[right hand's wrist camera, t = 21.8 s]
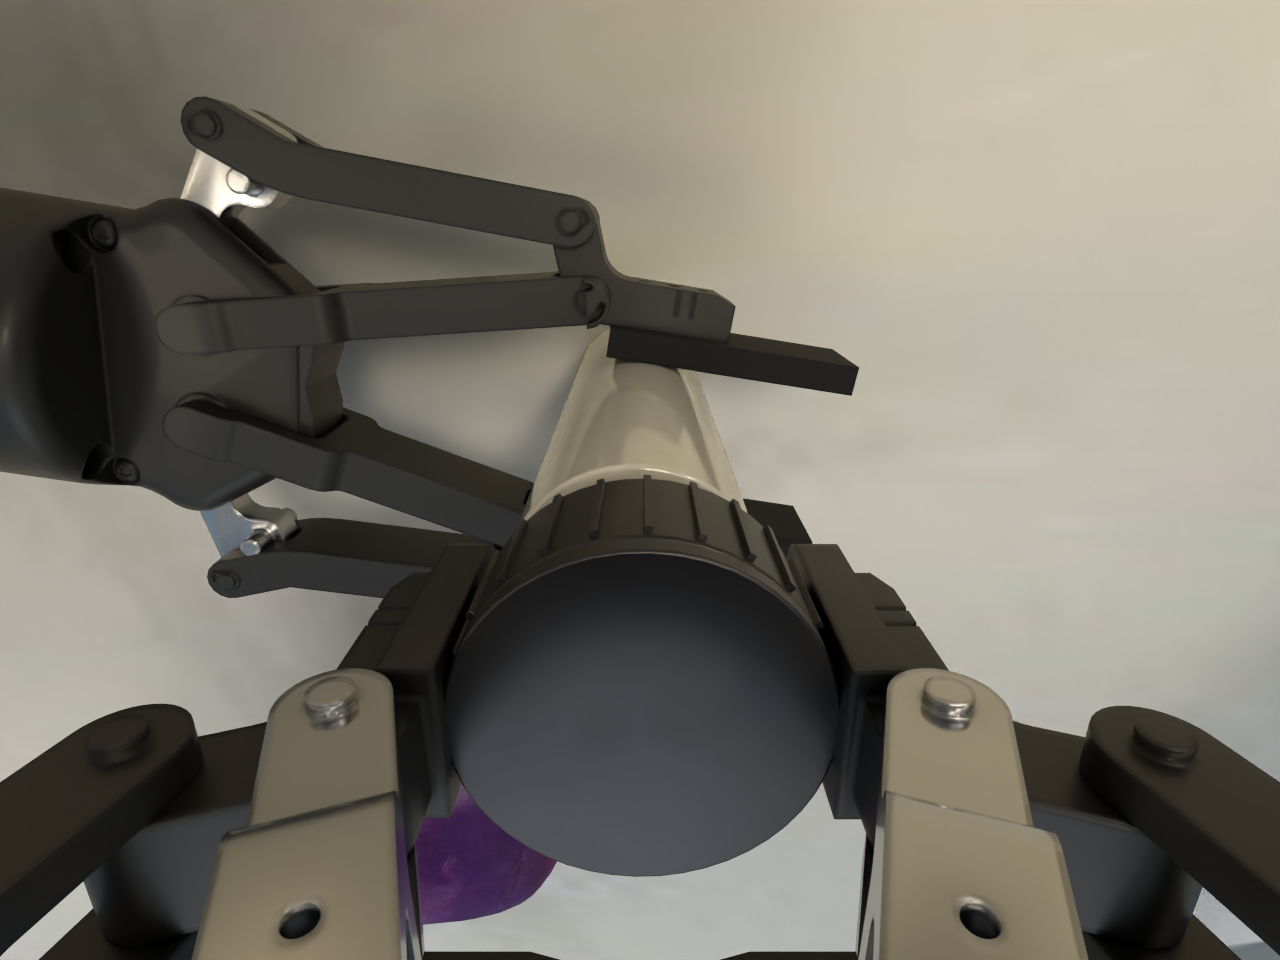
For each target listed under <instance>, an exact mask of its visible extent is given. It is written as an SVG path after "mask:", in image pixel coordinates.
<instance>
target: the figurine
mask: <svg viewBox="0 0 1280 960" xmlns="http://www.w3.org/2000/svg"><path fill="white" fill-rule="evenodd" d="M415 845H416V852H417V859H418V871H419V884H420V897H421V910H422V923H423V925H424V924H433V923H444V922H455V921H463V920H469V919H475V918H479V917H484V916H488V915H492V914H496V913H500V912H502V911H505V910H507V909H510V908H512V907H514V906H517V905H519V904H521V903H522V902H524V901H525V900H527V899H528V898H529V897H531V896H532V895H533V894H534V893H535V892H536V891H537V890H538V889H539V888H540V887H541V885H542V884H543V883H544V881H545V880H546V879H547V877H548V876H549V874H550V873H551V871H552V869H553V868H554V866H555V864H556V862H557V861H556V860H554V859H551V858H548V857H546V856H544V855H542V854H540V853H538V852H536V851H534V850H532V849H530V848H528V847H526V846H525V845H523V844H522V843H520V842H519V841H517V840H516V839H514V838H513V837H511V836H510V835H508V834H507V833H505V832H504V831H503V830H502V829H501V828H500V827H498V826H497V825H496V824H495V823H494V822H493V821H491V820H490V819H489V818H488V817H487V816H486V815H485V813H484V812H483V811H482V810H481V809H480V808H479V807H478V806H477V805H476V803H475V802H474V801H473V799H472V798H471V797H470V795H469V794H468V792H467V791H466V789H465V788H464V786H463V785H462V783H461V786H460V790H459V793H458V796H457V799H456V802H455V805H454V809H453V812H452V815H451V818H424V819H423V822H422V825H421V828H420V830H419V833H418V836H417V839H416V841H415Z"/></svg>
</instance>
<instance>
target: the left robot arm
mask: <svg viewBox="0 0 1280 960" xmlns="http://www.w3.org/2000/svg"><path fill="white" fill-rule="evenodd" d="M181 124H182V128H183V132H184V134H185V135H186V137H187V139H188V140H189V142H190V143H191V144H193V145H194V146H195V147H196V148H197V150H196V153H195V156H194V159H193V162H192V165H191V168H190V171H189V174H188V177H187V180H186V183H185V186H184V189H183V192H182V195H181V198H180V199H178V198H169V199H163V200H159V201H156V202H154V203H151V204H149V205H147V206H145V207H142V208H138V209H129V208H122V207H116V206H110V205H104V204H98V203H92V202H86V201H79V200H73V199H67V198H61V197H55V196H49V195H43V194H37V193H30V192H24V191H18V190H12V189H6V188H0V472H7V473H14V474H21V475H29V476H36V477H43V478H50V479H57V480H64V481H71V482H78V483H87V484H104V485H132V486H140V487H144V488H147V489H149V490H152V491H154V492H156V493H158V494H160V495H162V496H164V497H165V498H167V499H169V500H170V501H172V502H173V503H175V504H177V505H179V506H181V507H184V508H187V509H191V510H197V511H200V512H201V514H202V517H203V519H204V521H205V523H206V525H207V527H208V529H209V532H210V534H211V536H212V538H213V540H214V542H215V544H216V547H217V549H218V551H219V553H220V555H221V559H219V560H218V561H217V562H216V563H215V564H213V565H212V567H211V568H210V569H209V570H208V575H207V578H208V582H209V584H210V586H211V587H212V589H213V590H214V591H215V592H217V593H218V594H220V595H221V596H225V597H228V598H238V597H243V596H248V595H253V594H258V593H263V592H268V591H273V590H278V589H283V588H288V587H294V588H302V589H311V590H319V591H328V592H336V593H344V594H353V595H361V596H370V597H378V598H384V597H385V596H386V594H387V593H388V591H389V590H390V588H392V587H393V586H395V585H396V584H398V583H399V582H401V581H402V580H403V579H405V578H406V577H408V576H409V575H411V574H412V573H414V572H430V571H431V570H432V568H433V566H434V564H435V563H436V561H437V559H438V558H439V556H440V554H441V553H442V551H443V549H444V547H445V546H446V545H447V544H493V545H494V548H495V549H496V550H498V551H501V550H502V548H503V547H504V545H505V544H506V543H507V541H508V540H509V538H510V537H511V536H512V535H513V534H514V531H515V529H516V526H517V524H518V521H519V520H520V518H521V515H522V513H523V510H524V507H525V505H526V502H527V500H528V497H529V495H530V492H531V490H532V487H533V484H534V483H532V482H529V481H527V480H524V479H521V478H518V477H516V476H513V475H510V474H507V473H505V472H502V471H499V470H496V469H494V468H491V467H488V466H485V465H483V464H480V463H477V462H474V461H471V460H469V459H466V458H463V457H460V456H458V455H455V454H452V453H449V452H447V451H444V450H441V449H438V448H436V447H433V446H430V445H427V444H425V443H422V442H419V441H416V440H413V439H411V438H408V437H405V436H402V435H400V434H397V433H394V432H391V431H389V430H386V429H383V428H381V427H380V426H378V424H377V422H376V421H375V420H373V419H372V418H370V417H368V416H365V415H362V414H360V413H357V412H354V411H351V410H349V409H346V408H343V399H342V395H341V392H340V388H339V384H338V380H337V376H336V371H337V367H338V364H339V360H340V357H341V354H342V350H343V342H344V341H350V340H361V339H377V338H392V337H408V336H423V335H439V334H455V333H470V332H486V331H501V330H517V329H532V328H548V327H564V326H579V325H587V329H590V328H594V327H597V326H598V325H599V324H602V325H609V326H611V327H610V334H609V341H608V348H607V355H606V357H609V358H615V359H621V360H628V361H634V362H640V363H647V364H653V365H660V366H666V367H672V368H679V369H685V370H691V371H698V372H704V373H711V374H717V375H723V376H730V377H736V378H742V379H749V380H755V381H761V382H768V383H774V384H781V385H787V386H793V387H800V388H806V389H812V390H819V391H825V392H832V393H838V394H844V395H851V396H852V392H853V388H854V385H855V381H856V377H857V373H858V370H859V367H857V366H856V365H855V364H853V363H852V362H850V361H849V360H847V359H846V358H844V357H843V356H841V355H840V354H838V353H837V352H836V351H834V350H833V349H827V348H821V347H815V346H809V345H802V344H796V343H790V342H784V341H777V340H771V339H765V338H759V337H752V336H746V335H740V334H734V333H730V331H731V326H732V321H733V316H734V311H735V306H734V305H733V304H732V303H731V302H730V301H729V300H727V299H726V298H724V297H723V296H721V295H719V294H718V293H716V292H715V291H713V290H708V289H702V288H696V287H690V286H684V285H677V284H671V283H665V282H659V281H653V280H647V279H641V278H635V277H629V276H626V275H623V274H621V273H620V272H618V271H617V270H616V269H615V268H614V267H613V266H612V265H611V264H610V262H609V260H608V258H607V255H606V251H605V246H604V241H603V237H602V232H601V227H600V219H599V214H598V212H597V210H596V208H595V207H594V206H593V205H592V204H591V203H590V202H589V201H587V200H585V199H582V198H579V197H576V196H572V195H567V194H561V193H556V192H551V191H546V190H541V189H535V188H530V187H525V186H520V185H514V184H509V183H504V182H499V181H494V180H488V179H483V178H478V177H473V176H468V175H462V174H457V173H452V172H447V171H441V170H436V169H431V168H426V167H421V166H415V165H410V164H405V163H400V162H394V161H389V160H384V159H379V158H374V157H368V156H363V155H358V154H353V153H347V152H342V151H337V150H332V149H327V148H323V147H322V146H320V145H318V144H316V143H315V142H313V141H311V140H310V139H308V138H306V137H304V136H303V135H301V134H299V133H298V132H296V131H294V130H293V129H291V128H289V127H287V126H286V125H284V124H282V123H281V122H279V121H277V120H275V119H274V118H272V117H270V116H269V115H267V114H264V113H262V112H259V111H255V110H252V109H248V108H245V107H242V106H238V105H234V104H231V103H227V102H223V101H219V100H216V99H212V98H209V97H195V98H193V99H191V100H190V101H188V102H187V103H186V105H185V106H184V108H183V110H182V115H181ZM293 196H297V197H301V198H305V199H310V200H315V201H321V202H326V203H331V204H337V205H342V206H347V207H353V208H358V209H363V210H369V211H374V212H380V213H385V214H390V215H396V216H401V217H406V218H412V219H417V220H422V221H428V222H433V223H438V224H444V225H449V226H454V227H460V228H465V229H470V230H476V231H481V232H487V233H492V234H497V235H503V236H508V237H513V238H519V239H524V240H529V241H535V242H540V243H545V244H551V245H553V248H554V252H555V257H556V261H557V265H558V270H559V272H546V273H530V274H515V275H500V276H485V277H470V278H454V279H439V280H424V281H409V282H393V283H378V284H373V283H361V284H346V285H331V286H314V285H313V284H312V283H310V282H309V281H308V280H307V279H306V278H305V277H304V276H303V275H301V274H300V273H299V272H298V271H297V270H296V269H295V268H294V267H292V266H291V265H290V264H289V263H288V262H287V261H286V260H285V259H283V258H282V257H281V256H280V255H279V254H278V253H277V252H276V251H274V250H273V249H272V248H271V247H270V246H269V245H268V244H267V243H265V242H264V241H263V240H262V239H261V238H260V237H259V236H258V235H256V234H255V233H254V232H253V231H252V230H251V229H250V228H249V227H247V226H246V225H245V224H244V223H243V222H242V221H241V220H240V219H238V216H239V214H240V212H241V211H242V210H243V209H244V208H246V207H248V206H249V207H253V208H281V207H283V206H285V205H286V204H288V203H289V202H290V200H291V198H292V197H293ZM275 478H279V479H282V480H285V481H288V482H291V483H294V484H296V485H299V486H302V487H305V488H308V489H311V490H315V491H322V492H327V491H335V490H336V491H343V492H346V493H349V494H352V495H355V496H358V497H360V498H363V499H366V500H369V501H372V502H375V503H378V504H381V505H383V506H386V507H389V508H392V509H395V510H398V511H401V512H404V513H406V514H409V515H412V516H415V517H418V518H421V519H424V520H427V521H430V522H432V523H435V524H438V525H441V526H444V527H447V528H450V529H453V530H455V531H458V532H461V533H464V534H457V533H449V532H441V531H433V530H425V529H417V528H409V527H401V526H393V525H384V524H376V523H368V522H360V521H352V520H344V519H333V518H310V519H303V520H297V514H296V513H295V511H293V510H292V509H290V508H283V509H280V508H271V507H264V506H261V505H259V504H257V503H255V502H254V501H253V500H252V499H251V498H250V497H249V495H248V492H250V491H252V490H254V489H256V488H258V487H260V486H262V485H264V484H266V483H268V482H269V481H271V480H273V479H275ZM743 501H744V504H745V506H746V509H747V512H748V514H749V515H751V516H752V517H753V518H754V519H755V520H756V521H757V522H758V523H759V524H761V525H762V526H763V527H765V526H767V525H769V526H770V528H771V529H772V530H773V533H774V535H775V537H776V540H777V542H778V545H779V547H780V548H781V550H782V552H783V553H784V555H785V556H786V558H787V556H788V551H789V547H790V545H791V544H812V541H811V539H810V537H809V535H808V533H807V531H806V530H805V528H804V526H803V524H802V522H801V520H800V518H799V516H798V515H797V513H796V511H795V509H794V507H793V506H790V505H783V504H776V503H770V502H763V501H756V500H749V499H743ZM465 534H467V535H465Z"/></svg>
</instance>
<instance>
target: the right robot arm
mask: <svg viewBox="0 0 1280 960" xmlns="http://www.w3.org/2000/svg"><path fill="white" fill-rule="evenodd" d="M494 551H495V548H494V545H493V544H447V545H446V546H445V547H444V549H443V551H442V553H441V554H440V556H439V558H438V559H437V561H436V563H435V564H434V566H433V568H432V570H431V571H430V572H414V573H412V574H411V575H409V576H408V577H406V578H405V579H403V580H402V581H401V582H399V583H398V584H396V585H395V586H393V587H392V588H390V590H389V591H388V593H387V594H386V596H385V597H384V599H383V600H382V602H381V603H380V605H379V609H378V610H376V611H375V612H374V614H373V615H372V617H371V618H370V620H369V621H368V626H365V627H364V629H363V630H362V632H361V633H360V635H359V636H358V638H357V639H356V641H355V642H354V644H353V645H352V647H351V648H350V650H349V651H348V653H347V654H346V656H345V657H344V659H343V660H342V662H341V663H340V665H339V666H338V668H337V669H336V670H333V671H329V672H324V673H321V674H318V675H315V676H313V677H310V678H308V679H306V680H303V681H302V682H300V683H298V684H296V685H294V686H293V687H291V688H290V689H288V690H287V691H286V692H285V693H284V694H282V695H281V696H280V697H279V698H278V699H277V701H276V702H275V703H274V705H273V706H272V708H271V710H270V713H269V716H268V721H267V722H264V723H260V724H256V725H252V726H248V727H243V728H238V729H233V730H228V731H224V732H219V733H214V734H209V735H204V736H199V737H198V736H197V732H196V729H195V725H194V721H193V718H192V716H191V714H190V713H189V712H188V711H187V710H185V709H184V708H182V707H179V706H176V705H170V704H149V705H141V706H136V707H131V708H128V709H124V710H120V711H117V712H115V713H112V714H109V715H106V716H104V717H102V718H99V719H97V720H95V721H93V722H91V723H89V724H87V725H85V726H83V727H81V728H80V729H78V730H77V731H75V732H73V733H72V734H70V735H69V736H67V737H66V738H64V739H63V740H61V741H60V742H59V743H57V744H56V745H54V746H53V747H51V748H50V749H48V750H47V751H45V752H44V753H42V754H41V755H40V756H38V757H37V758H35V759H34V760H32V761H31V762H29V763H28V764H26V765H25V766H23V767H22V768H21V769H19V770H18V771H16V772H15V773H13V774H12V775H10V776H9V777H7V778H6V779H4V780H3V781H2V782H0V956H1V955H2V954H3V953H4V952H5V951H6V950H7V949H8V948H9V947H10V946H11V945H12V944H14V943H15V942H16V941H17V940H18V939H19V938H20V937H21V936H22V935H24V934H25V933H26V932H27V931H28V930H29V929H30V928H31V927H33V926H34V925H35V924H36V923H37V922H38V921H39V920H40V919H42V918H43V917H44V916H45V915H46V914H47V913H48V912H49V911H51V910H52V909H53V908H54V907H55V906H56V905H57V904H58V903H59V902H61V901H62V900H63V899H64V898H65V897H66V896H67V895H68V894H70V893H71V892H72V891H73V890H74V889H75V888H76V887H77V886H79V885H80V884H81V883H82V882H83V881H84V884H85V887H86V889H87V892H88V895H89V897H90V900H91V903H92V906H93V909H92V910H91V911H90V912H89V913H88V914H87V915H86V916H85V917H84V918H83V919H81V920H80V921H79V922H78V923H77V924H76V925H75V926H74V927H73V928H72V929H71V930H70V931H69V932H68V933H67V934H66V935H65V936H63V937H62V938H61V939H60V940H59V941H58V942H57V943H56V944H55V945H54V946H53V947H52V948H51V949H50V950H49V951H48V952H46V953H45V954H44V955H43V956H42V957H41V958H40V959H39V960H559V959H555V958H551V957H548V956H544V955H540V954H537V953H533V952H425V949H424V936H423V923H422V910H421V897H420V884H419V871H418V859H417V852H416V845H415V841H416V839H417V836H418V833H419V830H420V828H421V825H422V822H423V819H424V818H451V815H452V812H453V809H454V805H455V802H456V799H457V796H458V793H459V790H460V786H461V781H460V779H459V777H458V775H457V773H456V771H455V769H454V767H453V765H452V759H451V752H450V744H449V735H448V726H447V718H446V709H445V699H444V689H445V683H446V678H447V675H448V672H449V669H450V666H451V663H452V660H453V656H452V652H453V650H454V648H455V645H456V643H457V640H458V638H459V636H460V633H461V631H462V629H463V626H464V624H465V622H466V619H467V618H466V617H465V616H466V613H467V611H468V609H469V607H470V604H471V602H472V600H473V597H474V595H475V593H476V590H477V588H478V586H479V584H480V581H481V579H482V577H483V574H484V572H485V570H486V567H487V565H488V563H489V561H490V558H491V556H492V554H493V552H494ZM791 558H793V559H794V561H795V563H796V566H797V568H798V570H799V572H800V575H801V577H802V579H803V581H804V584H805V586H806V588H807V590H808V593H809V595H810V597H811V599H812V602H813V604H814V606H815V608H816V611H817V613H818V615H819V617H820V619H821V622H822V624H823V626H824V627H823V628H821V629H818V632H819V634H820V636H821V639H822V641H823V643H824V646H825V648H826V650H827V653H828V655H829V657H830V660H831V662H832V664H833V667H834V669H835V673H836V677H837V682H838V686H839V690H840V704H839V715H838V723H837V731H836V740H835V748H834V755H833V760H832V762H831V765H830V767H829V770H828V772H827V774H826V776H825V778H824V780H823V781H822V782H823V785H824V788H825V792H826V795H827V798H828V801H829V804H830V807H831V810H832V813H833V817H834V819H861V820H862V822H863V825H864V828H865V831H866V838H865V845H864V852H863V859H862V871H861V884H860V897H859V910H858V923H857V936H856V949H855V952H747V953H743V954H740V955H736V956H732V957H729V958H725V959H721V960H1241V959H1240V958H1239V957H1238V956H1237V955H1236V954H1235V953H1234V952H1233V951H1231V950H1230V949H1229V948H1228V947H1227V946H1226V945H1225V944H1224V943H1223V942H1222V941H1221V940H1220V939H1219V938H1218V937H1217V936H1216V935H1214V934H1213V933H1212V932H1211V931H1210V930H1209V929H1208V928H1207V927H1206V926H1205V925H1204V924H1203V923H1202V922H1201V921H1200V920H1199V919H1197V918H1196V917H1195V916H1194V915H1193V911H1194V908H1195V906H1196V903H1197V900H1198V898H1199V895H1200V892H1201V890H1202V887H1204V888H1205V889H1206V890H1207V891H1208V892H1209V893H1210V894H1212V895H1213V896H1214V897H1215V898H1216V899H1217V900H1218V901H1219V902H1221V903H1222V904H1223V905H1224V906H1225V907H1226V908H1227V909H1228V910H1230V911H1231V912H1232V913H1233V914H1234V915H1235V916H1236V917H1237V918H1238V919H1240V920H1241V921H1242V922H1243V923H1244V924H1245V925H1246V926H1247V927H1249V928H1250V929H1251V930H1252V931H1253V932H1254V933H1255V934H1256V935H1258V936H1259V937H1260V938H1261V939H1262V940H1263V941H1264V942H1265V943H1267V944H1268V945H1269V946H1270V947H1271V948H1272V949H1273V950H1274V951H1275V952H1276V953H1278V955H1279V956H1280V782H1278V781H1277V780H1276V779H1274V778H1273V777H1271V776H1270V775H1268V774H1267V773H1265V772H1264V771H1262V770H1261V769H1259V768H1258V767H1257V766H1255V765H1254V764H1252V763H1251V762H1249V761H1248V760H1246V759H1245V758H1243V757H1242V756H1240V755H1239V754H1238V753H1236V752H1235V751H1233V750H1232V749H1230V748H1229V747H1227V746H1226V745H1224V744H1223V743H1221V742H1220V741H1219V740H1217V739H1216V738H1214V737H1213V736H1211V735H1210V734H1208V733H1206V732H1205V731H1203V730H1202V729H1200V728H1198V727H1196V726H1194V725H1192V724H1190V723H1188V722H1186V721H1184V720H1181V719H1179V718H1177V717H1174V716H1171V715H1168V714H1165V713H1162V712H1159V711H1155V710H1151V709H1146V708H1141V707H1133V706H1113V707H1107V708H1104V709H1101V710H1099V711H1097V712H1096V713H1095V714H1094V715H1093V716H1092V717H1091V720H1090V722H1089V726H1088V730H1087V733H1086V737H1081V736H1076V735H1071V734H1066V733H1061V732H1057V731H1052V730H1047V729H1042V728H1037V727H1033V726H1029V725H1025V724H1021V723H1018V722H1015V721H1013V720H1012V715H1011V713H1010V710H1009V708H1008V706H1007V705H1006V703H1005V702H1004V701H1003V699H1002V698H1001V697H1000V696H999V695H998V694H996V693H995V692H994V691H993V690H992V689H990V688H989V687H987V686H986V685H984V684H982V683H980V682H978V681H977V680H974V679H972V678H970V677H967V676H965V675H962V674H959V673H956V672H951V671H949V670H948V669H947V667H946V666H945V664H944V663H943V661H942V660H941V658H940V657H939V655H938V654H937V652H936V651H935V649H934V648H933V646H932V645H931V643H930V642H929V640H928V639H927V637H926V636H925V635H924V633H923V632H922V630H921V629H920V627H919V626H916V621H915V620H914V618H913V617H912V615H911V614H910V612H909V611H906V606H905V605H904V604H903V602H902V601H901V599H900V598H899V596H898V595H897V593H896V592H895V590H894V589H893V588H892V587H890V586H889V585H887V584H886V583H884V582H883V581H881V580H880V579H878V578H877V577H875V576H874V575H872V574H871V573H854V571H853V570H852V568H851V566H850V565H849V563H848V561H847V560H846V558H845V556H844V555H843V553H842V551H841V550H840V548H839V546H838V545H837V544H791V545H790V547H789V551H788V556H787V560H789V559H791Z"/></svg>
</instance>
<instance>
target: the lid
mask: <svg viewBox="0 0 1280 960" xmlns="http://www.w3.org/2000/svg"><path fill="white" fill-rule="evenodd" d="M465 617H466V618H467V619H466V622H465V624H464V626H463V629H462V631H461V633H460V636H459V638H458V640H457V643H456V645H455V648H454V650H453V652H452V656H453V660H452V663H451V666H450V669H449V672H448V675H447V678H446V683H445V689H444V699H445V709H446V718H447V726H448V735H449V744H450V752H451V759H452V765H453V767H454V769H455V771H456V773H457V775H458V777H459V779H460V781H461V783H462V785H463V786H464V788H465V789H466V791H467V792H468V794H469V795H470V797H471V798H472V799H473V801H474V802H475V803H476V805H477V806H478V807H479V808H480V809H481V810H482V811H483V812H484V813H485V815H486V816H487V817H488V818H489V819H490V820H491V821H493V822H494V823H495V824H496V825H497V826H498V827H500V828H501V829H502V830H503V831H504V832H505V833H507V834H508V835H510V836H511V837H513V838H514V839H516V840H517V841H519V842H520V843H522V844H523V845H525V846H526V847H528V848H530V849H532V850H534V851H536V852H538V853H540V854H542V855H544V856H546V857H548V858H551V859H554V860H556V861H559V862H561V863H564V864H566V865H570V866H573V867H577V868H581V869H584V870H588V871H593V872H599V873H605V874H610V875H622V876H635V877H637V876H663V875H671V874H679V873H685V872H690V871H694V870H699V869H703V868H707V867H710V866H713V865H716V864H719V863H722V862H725V861H728V860H730V859H732V858H735V857H737V856H739V855H741V854H743V853H746V852H748V851H750V850H751V849H753V848H755V847H756V846H758V845H760V844H761V843H763V842H765V841H766V840H768V839H769V838H771V837H772V836H773V835H775V834H776V833H777V832H779V831H780V830H781V829H783V828H784V827H785V826H786V825H787V824H789V823H790V822H791V821H792V820H793V819H794V818H795V817H796V816H797V815H798V814H799V813H800V812H801V811H802V810H803V808H804V807H805V806H806V805H807V803H808V802H809V801H810V800H811V798H812V797H813V796H814V795H815V793H816V792H817V790H818V788H819V786H820V785H821V783H822V781H823V780H824V778H825V776H826V774H827V772H828V770H829V767H830V765H831V762H832V760H833V755H834V748H835V740H836V731H837V723H838V715H839V704H840V690H839V686H838V682H837V677H836V673H835V669H834V667H833V664H832V662H831V660H830V657H829V655H828V653H827V650H826V648H825V646H824V643H823V641H822V639H821V636H820V634H819V632H818V629H821V628H823V627H824V626H823V624H822V622H821V619H820V617H819V615H818V613H817V611H816V608H815V606H814V604H813V602H812V599H811V597H810V595H809V593H808V590H807V588H806V586H805V584H804V581H803V579H802V577H801V575H800V572H799V570H798V568H797V566H796V563H795V561H794V559H793V558H791V559H789V560H787V558H786V556H785V555H784V553H783V552H782V550H781V548H780V547H779V545H778V542H777V540H776V537H775V535H774V533H773V530H772V529H771V528H770V526H769V525H767V526H765V527H763V526H762V525H761V524H759V523H758V522H757V521H756V520H755V519H754V518H753V517H752V516H751V515H749V514H748V513H746V512H745V511H744V510H742V509H741V507H740V504H739V502H738V501H737V500H735V499H732V500H731V501H728V500H726V499H724V498H722V497H720V496H718V495H716V494H714V493H712V492H709V491H706V490H703V489H700V488H698V485H697V483H696V482H692V481H690V483H689V485H688V484H683V483H678V482H674V481H669V480H658V479H651V475H644V476H643V479H623V480H616V481H610V482H605V480H604V479H599V480H597V483H596V485H592V486H589V487H585V488H582V489H579V490H577V491H574V492H572V493H570V494H567V495H565V496H563V497H562V495H561V494H560V493H559V494H557V495H555V496H554V498H553V501H552V503H550V504H548V505H547V506H545V507H543V508H542V509H540V510H539V511H538V512H537V513H535V514H534V515H533V516H532V517H530V518H529V519H528V520H525V519H524V518H522V519H521V520H520V521H518V524H517V526H516V529H515V531H514V534H513V535H512V536H511V537H510V538H509V540H508V541H507V543H506V544H505V545H504V547H503V548H502V550H501V551H498V550H496V549H495V551H494V552H493V554H492V556H491V558H490V561H489V563H488V565H487V567H486V570H485V572H484V574H483V577H482V579H481V581H480V584H479V586H478V588H477V590H476V593H475V595H474V597H473V600H472V602H471V604H470V607H469V609H468V611H467V613H466V616H465Z"/></svg>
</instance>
